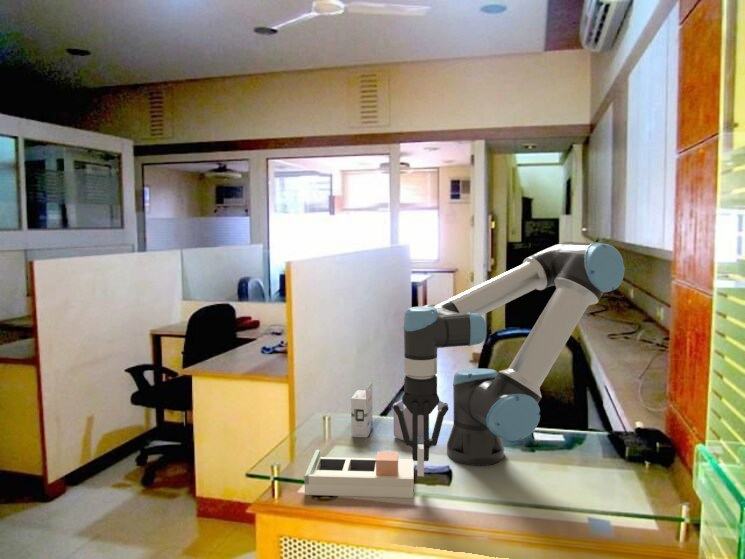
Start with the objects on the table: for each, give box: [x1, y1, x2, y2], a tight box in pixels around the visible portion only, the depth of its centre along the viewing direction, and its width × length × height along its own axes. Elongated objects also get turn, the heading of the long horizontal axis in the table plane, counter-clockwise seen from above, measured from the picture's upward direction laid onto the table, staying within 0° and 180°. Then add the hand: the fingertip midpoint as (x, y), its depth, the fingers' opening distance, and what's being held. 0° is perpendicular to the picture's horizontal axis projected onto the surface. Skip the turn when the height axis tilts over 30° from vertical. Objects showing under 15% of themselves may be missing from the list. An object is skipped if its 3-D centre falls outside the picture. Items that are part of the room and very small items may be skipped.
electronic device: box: [393, 405, 424, 442], centre depth 160 cm, size 10×5×10 cm, turn 135°
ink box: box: [350, 381, 374, 438], centre depth 162 cm, size 9×5×15 cm, turn 168°
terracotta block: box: [376, 450, 399, 477], centre depth 128 cm, size 5×5×5 cm
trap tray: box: [303, 449, 415, 499], centre depth 131 cm, size 25×15×4 cm, turn 85°
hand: (420, 473), depth 127 cm, fingers closed
